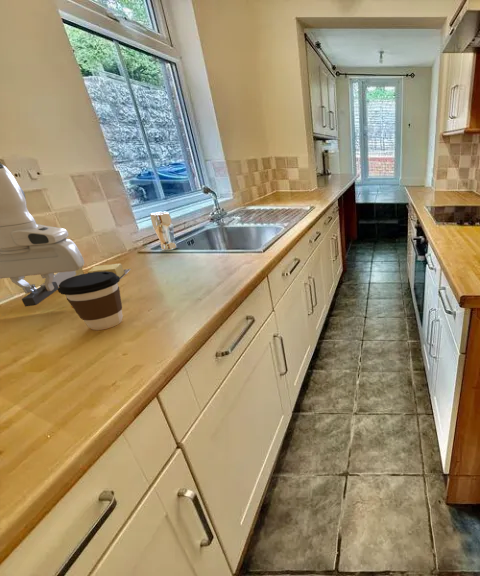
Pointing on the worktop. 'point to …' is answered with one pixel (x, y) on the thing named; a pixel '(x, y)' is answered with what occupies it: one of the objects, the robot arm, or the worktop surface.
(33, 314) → the worktop surface
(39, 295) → the knife
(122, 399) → the worktop surface
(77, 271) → the butter slice
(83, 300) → the coffee cup
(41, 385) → the worktop surface
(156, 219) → the beer glass
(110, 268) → the butter block
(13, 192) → the robot arm
